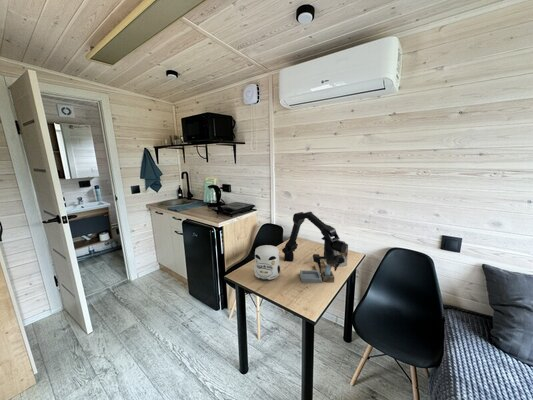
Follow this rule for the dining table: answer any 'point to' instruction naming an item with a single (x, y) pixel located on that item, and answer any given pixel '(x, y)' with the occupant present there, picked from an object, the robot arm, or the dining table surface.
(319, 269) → the tan cardboard box
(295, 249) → the robot arm
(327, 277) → the socket block
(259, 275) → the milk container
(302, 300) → the dining table surface
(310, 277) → the tray
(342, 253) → the coffee box
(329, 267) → the dowel
